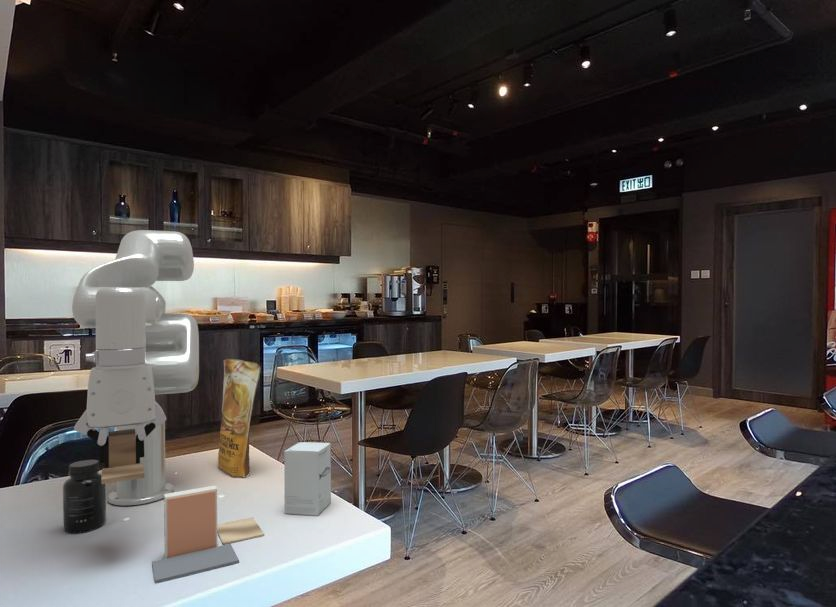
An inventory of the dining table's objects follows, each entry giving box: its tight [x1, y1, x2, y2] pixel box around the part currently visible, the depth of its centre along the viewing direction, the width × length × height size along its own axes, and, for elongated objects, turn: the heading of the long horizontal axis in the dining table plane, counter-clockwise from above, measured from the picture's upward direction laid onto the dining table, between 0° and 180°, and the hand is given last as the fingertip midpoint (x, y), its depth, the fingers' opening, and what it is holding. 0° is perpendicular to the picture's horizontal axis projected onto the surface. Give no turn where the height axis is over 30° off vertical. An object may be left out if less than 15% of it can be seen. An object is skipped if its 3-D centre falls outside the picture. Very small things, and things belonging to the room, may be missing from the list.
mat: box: [151, 543, 240, 584], centre depth 83 cm, size 7×12×1 cm, turn 120°
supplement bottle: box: [62, 459, 107, 534], centre depth 99 cm, size 7×7×12 cm
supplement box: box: [283, 441, 332, 517], centre depth 107 cm, size 7×7×13 cm
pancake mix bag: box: [217, 358, 262, 478], centre depth 134 cm, size 7×19×28 cm, turn 39°
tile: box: [163, 485, 219, 559], centre depth 88 cm, size 2×8×10 cm, turn 120°
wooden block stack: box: [101, 429, 144, 485], centre depth 88 cm, size 10×6×6 cm, turn 30°
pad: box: [217, 516, 265, 546], centre depth 96 cm, size 9×7×1 cm
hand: (122, 463), depth 91 cm, fingers closed on wooden block stack, 4 cm apart
